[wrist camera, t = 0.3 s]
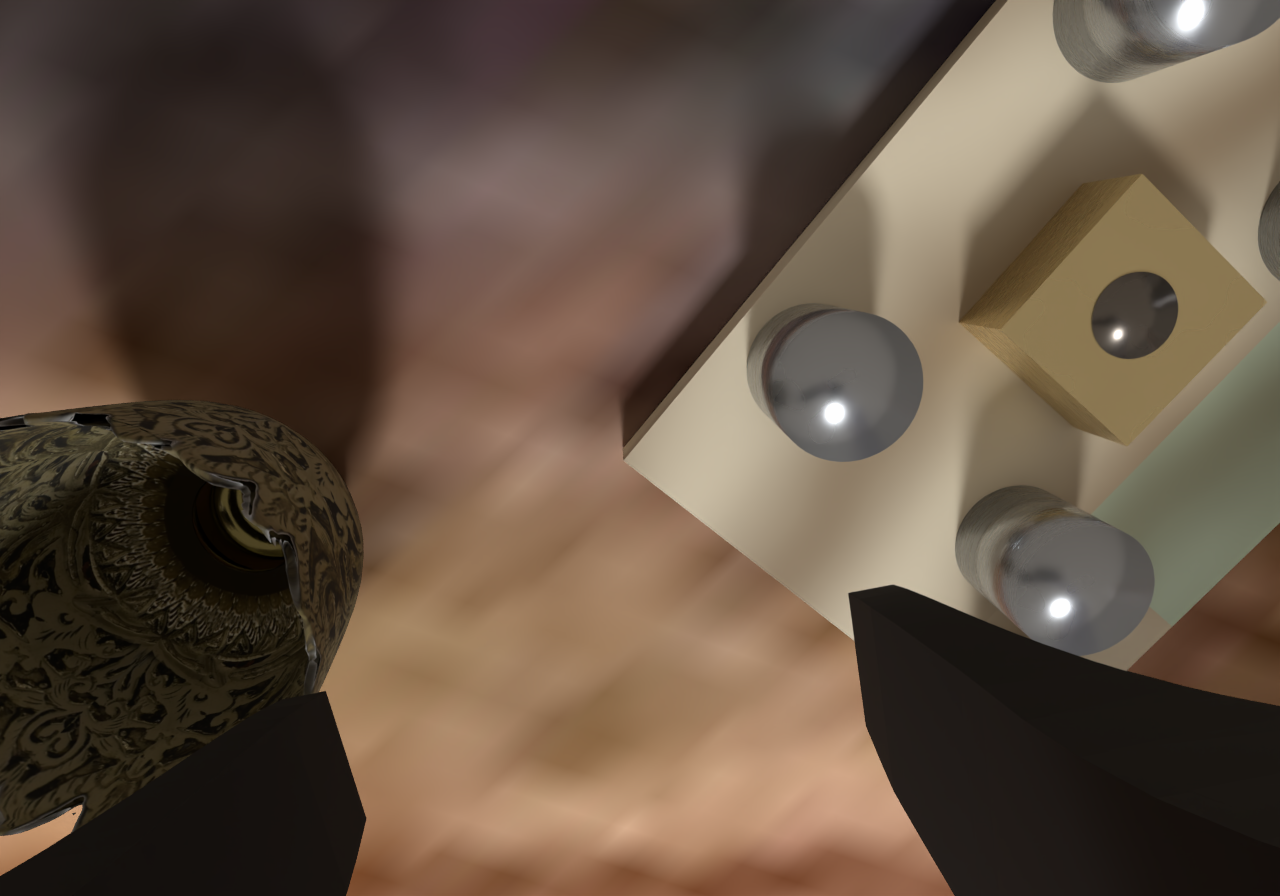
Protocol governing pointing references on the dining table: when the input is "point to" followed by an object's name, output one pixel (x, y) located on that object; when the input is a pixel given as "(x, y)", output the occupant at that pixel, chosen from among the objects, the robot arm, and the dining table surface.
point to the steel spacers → (893, 377)
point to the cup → (157, 591)
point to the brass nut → (1113, 308)
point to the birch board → (966, 370)
